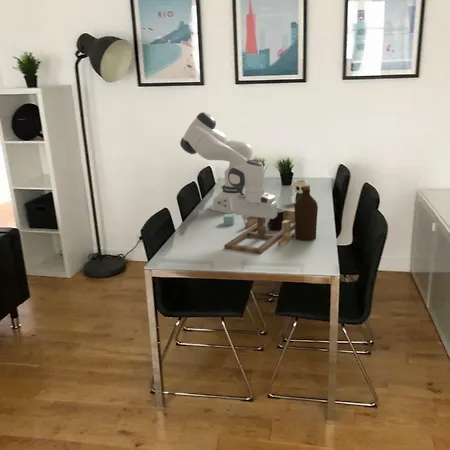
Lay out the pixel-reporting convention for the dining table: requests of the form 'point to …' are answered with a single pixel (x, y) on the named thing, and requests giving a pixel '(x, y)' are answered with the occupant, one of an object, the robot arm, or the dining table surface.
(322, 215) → the dining table surface
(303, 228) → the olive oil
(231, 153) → the robot arm
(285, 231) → the tan blocky wooden part
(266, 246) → the brown rectangular open frame
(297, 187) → the character mug
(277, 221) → the coffee mug
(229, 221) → the teal cube
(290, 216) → the frame
